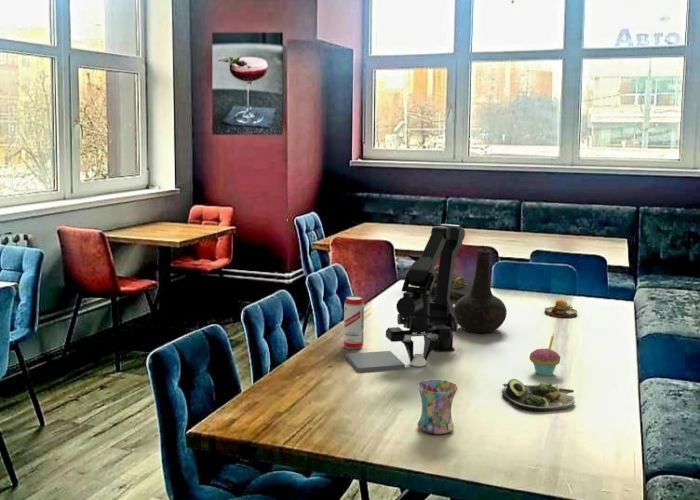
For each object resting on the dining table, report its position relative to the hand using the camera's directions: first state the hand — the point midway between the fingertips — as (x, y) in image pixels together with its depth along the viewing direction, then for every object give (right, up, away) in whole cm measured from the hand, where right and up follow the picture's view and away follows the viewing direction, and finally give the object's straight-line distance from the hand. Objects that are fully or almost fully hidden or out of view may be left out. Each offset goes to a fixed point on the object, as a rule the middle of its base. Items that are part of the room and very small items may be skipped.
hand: (417, 361), depth 229 cm
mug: (0, -10, -49) cm, 50 cm away
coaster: (-13, -1, +1) cm, 13 cm away
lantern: (+16, +14, +93) cm, 96 cm away
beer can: (-19, +2, +17) cm, 25 cm away
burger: (+59, +8, +64) cm, 88 cm away
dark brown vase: (+25, +5, +39) cm, 47 cm away
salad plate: (+28, -7, -27) cm, 39 cm away
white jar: (0, -1, 0) cm, 1 cm away
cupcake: (+36, -3, -6) cm, 36 cm away
